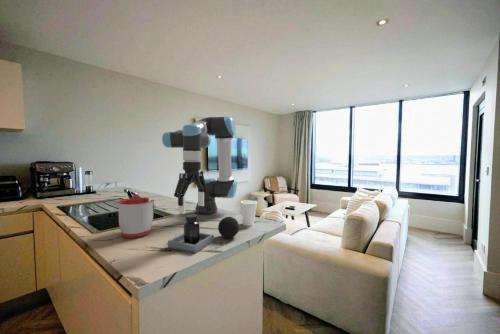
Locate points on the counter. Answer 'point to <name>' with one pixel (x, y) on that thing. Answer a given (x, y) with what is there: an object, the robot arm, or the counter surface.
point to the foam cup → (248, 212)
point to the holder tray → (180, 245)
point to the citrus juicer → (135, 216)
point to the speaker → (228, 227)
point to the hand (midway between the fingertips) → (192, 209)
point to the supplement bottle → (191, 230)
